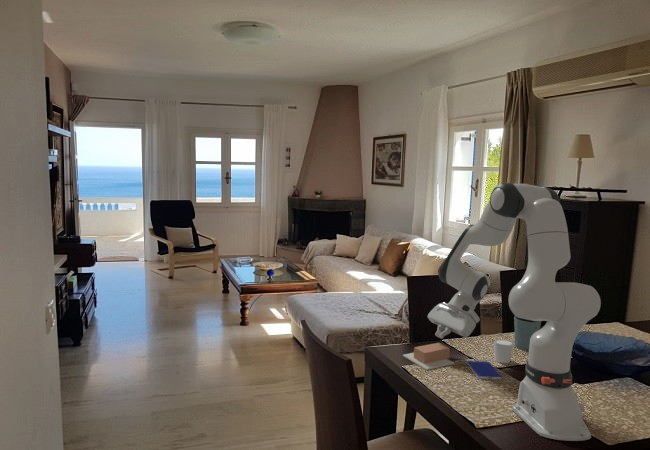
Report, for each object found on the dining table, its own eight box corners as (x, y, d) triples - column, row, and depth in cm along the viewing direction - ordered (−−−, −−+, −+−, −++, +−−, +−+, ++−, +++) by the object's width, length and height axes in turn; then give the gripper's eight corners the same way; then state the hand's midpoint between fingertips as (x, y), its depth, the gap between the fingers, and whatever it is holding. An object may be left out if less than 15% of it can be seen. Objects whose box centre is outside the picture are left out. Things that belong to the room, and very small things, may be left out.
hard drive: (467, 360, 174) (478, 375, 162) (489, 361, 174) (502, 376, 162) (466, 364, 174) (478, 380, 162) (489, 365, 174) (501, 380, 162)
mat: (454, 364, 173) (454, 362, 173) (426, 370, 167) (426, 368, 167) (429, 350, 186) (429, 349, 186) (402, 355, 180) (402, 354, 180)
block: (449, 348, 177) (424, 353, 171) (449, 358, 177) (423, 363, 172) (439, 342, 182) (414, 347, 177) (438, 352, 183) (413, 357, 177)
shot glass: (515, 364, 175) (516, 346, 174) (496, 363, 175) (497, 345, 174) (508, 357, 181) (509, 339, 181) (490, 356, 182) (491, 338, 181)
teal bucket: (532, 353, 185) (534, 324, 184) (507, 346, 193) (509, 317, 191) (543, 347, 192) (545, 319, 191) (518, 340, 200) (521, 312, 198)
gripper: (437, 296, 189) (416, 323, 185) (475, 310, 171) (452, 340, 167) (445, 306, 191) (424, 332, 188) (483, 321, 173) (461, 351, 170)
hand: (438, 336), depth 177 cm, fingers closed
